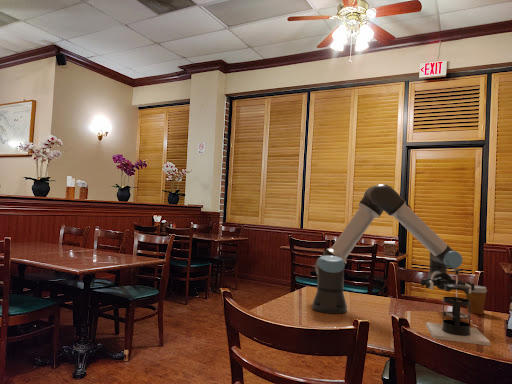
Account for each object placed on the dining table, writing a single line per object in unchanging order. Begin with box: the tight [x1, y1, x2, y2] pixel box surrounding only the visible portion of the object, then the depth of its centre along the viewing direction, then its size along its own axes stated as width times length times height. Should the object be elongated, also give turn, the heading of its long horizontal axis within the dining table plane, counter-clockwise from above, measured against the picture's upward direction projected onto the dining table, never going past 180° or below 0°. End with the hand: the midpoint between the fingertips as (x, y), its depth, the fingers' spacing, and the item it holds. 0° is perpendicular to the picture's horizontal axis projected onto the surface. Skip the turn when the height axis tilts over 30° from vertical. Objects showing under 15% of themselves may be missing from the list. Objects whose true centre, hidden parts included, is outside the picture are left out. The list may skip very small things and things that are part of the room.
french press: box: [442, 268, 471, 336], centre depth 143 cm, size 12×9×23 cm
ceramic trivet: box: [425, 321, 491, 347], centre depth 143 cm, size 18×18×1 cm
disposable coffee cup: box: [464, 284, 488, 315], centre depth 181 cm, size 10×10×12 cm
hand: (451, 288), depth 153 cm, fingers open, 13 cm apart
